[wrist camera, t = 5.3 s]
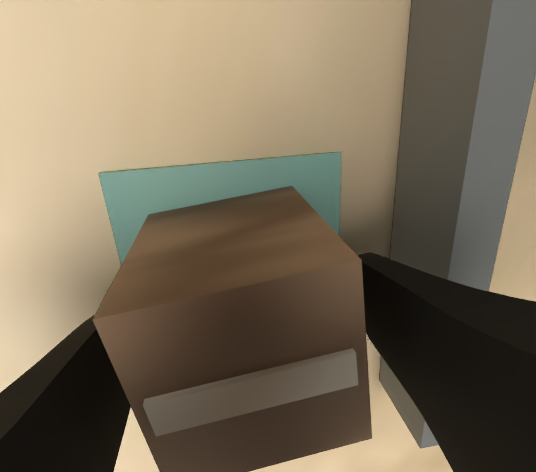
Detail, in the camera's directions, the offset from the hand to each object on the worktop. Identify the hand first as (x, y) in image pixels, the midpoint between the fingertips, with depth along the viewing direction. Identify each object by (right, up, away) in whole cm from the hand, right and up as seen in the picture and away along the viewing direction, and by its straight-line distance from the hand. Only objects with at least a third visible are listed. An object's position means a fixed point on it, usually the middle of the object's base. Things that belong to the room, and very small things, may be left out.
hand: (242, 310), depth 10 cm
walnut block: (0, +1, +2) cm, 3 cm away
